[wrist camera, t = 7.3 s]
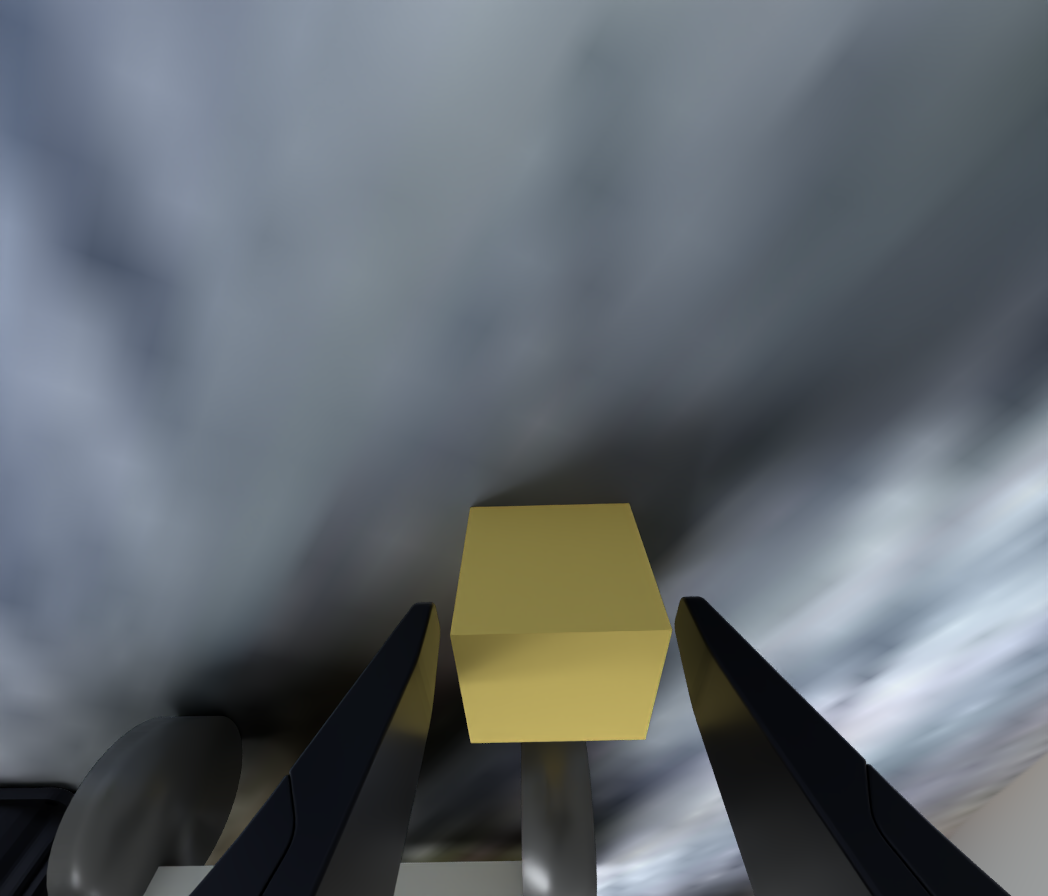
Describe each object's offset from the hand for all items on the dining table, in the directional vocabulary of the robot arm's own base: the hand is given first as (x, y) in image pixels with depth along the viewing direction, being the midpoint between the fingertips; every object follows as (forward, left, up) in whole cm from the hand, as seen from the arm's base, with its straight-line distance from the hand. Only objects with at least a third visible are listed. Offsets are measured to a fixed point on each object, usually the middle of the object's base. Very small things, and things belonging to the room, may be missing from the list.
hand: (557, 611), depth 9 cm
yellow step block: (0, -2, -3) cm, 4 cm away
